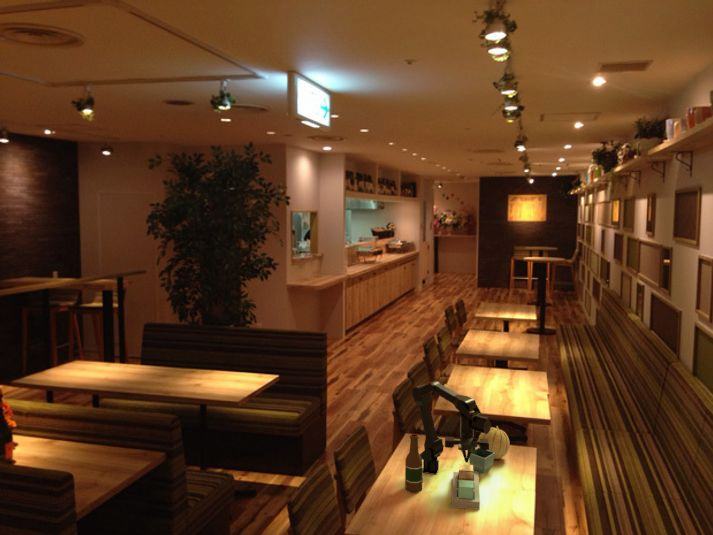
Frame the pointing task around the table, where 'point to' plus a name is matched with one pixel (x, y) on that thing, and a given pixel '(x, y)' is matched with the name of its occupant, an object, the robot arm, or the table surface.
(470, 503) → the grey rectangular tray
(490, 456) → the flower pot
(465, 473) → the tan block
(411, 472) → the beer bottle
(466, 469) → the light brown block
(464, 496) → the green block
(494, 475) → the table surface
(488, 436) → the cantaloupe
